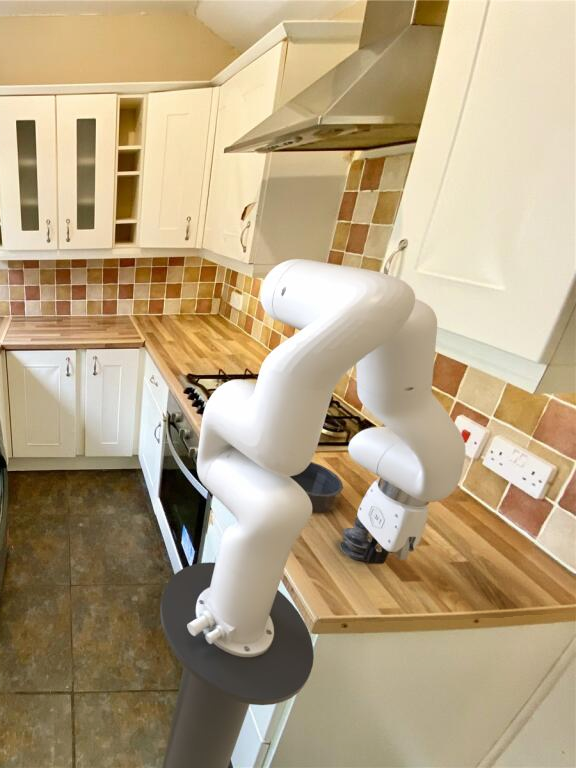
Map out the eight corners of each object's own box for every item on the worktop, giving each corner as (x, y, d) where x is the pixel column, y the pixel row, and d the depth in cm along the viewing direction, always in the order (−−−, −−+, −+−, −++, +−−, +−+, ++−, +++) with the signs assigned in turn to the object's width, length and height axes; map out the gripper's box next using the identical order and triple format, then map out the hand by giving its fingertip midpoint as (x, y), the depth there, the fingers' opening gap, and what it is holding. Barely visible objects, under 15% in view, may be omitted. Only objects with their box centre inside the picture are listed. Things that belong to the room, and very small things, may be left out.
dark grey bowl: (314, 520, 95) (320, 504, 93) (260, 485, 106) (264, 469, 104) (349, 499, 101) (355, 483, 99) (294, 468, 113) (298, 453, 110)
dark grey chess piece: (363, 543, 89) (380, 498, 84) (376, 564, 84) (395, 517, 79) (333, 538, 90) (349, 494, 85) (344, 559, 85) (361, 512, 80)
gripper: (357, 462, 81) (332, 532, 89) (414, 518, 67) (378, 594, 75) (396, 462, 80) (368, 532, 88) (461, 518, 67) (420, 594, 75)
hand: (373, 560), depth 82 cm, fingers closed
